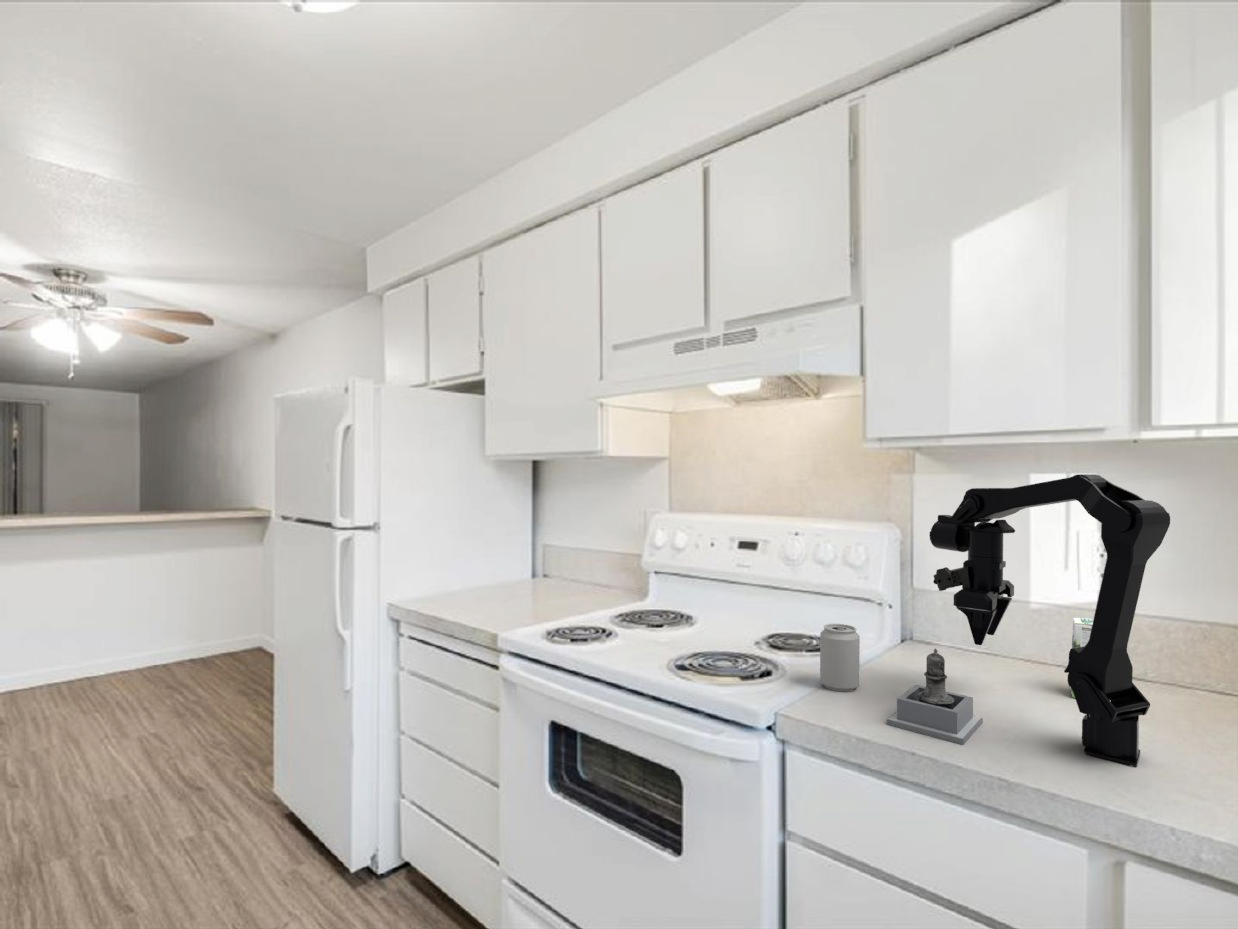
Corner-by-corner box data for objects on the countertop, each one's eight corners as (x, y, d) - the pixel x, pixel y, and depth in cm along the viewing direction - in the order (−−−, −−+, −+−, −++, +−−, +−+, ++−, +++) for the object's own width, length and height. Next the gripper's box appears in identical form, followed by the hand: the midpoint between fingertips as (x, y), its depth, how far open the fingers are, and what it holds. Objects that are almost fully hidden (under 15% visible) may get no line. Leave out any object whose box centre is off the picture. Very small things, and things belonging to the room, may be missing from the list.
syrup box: (1070, 689, 131) (1070, 616, 131) (1106, 695, 128) (1107, 620, 128) (1072, 698, 126) (1073, 622, 126) (1110, 704, 123) (1111, 626, 123)
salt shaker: (931, 726, 111) (932, 654, 110) (909, 713, 116) (909, 644, 116) (962, 723, 112) (962, 652, 112) (938, 710, 118) (938, 642, 117)
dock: (982, 722, 115) (982, 697, 114) (963, 744, 106) (963, 717, 106) (910, 705, 123) (910, 681, 122) (886, 724, 114) (887, 698, 114)
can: (855, 681, 136) (856, 622, 136) (862, 694, 128) (863, 632, 128) (817, 679, 137) (818, 621, 137) (822, 691, 130) (822, 630, 129)
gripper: (952, 546, 135) (951, 623, 135) (923, 556, 121) (922, 641, 121) (1015, 552, 128) (1014, 633, 128) (992, 563, 114) (991, 654, 114)
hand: (984, 639), depth 123 cm, fingers open, 9 cm apart
